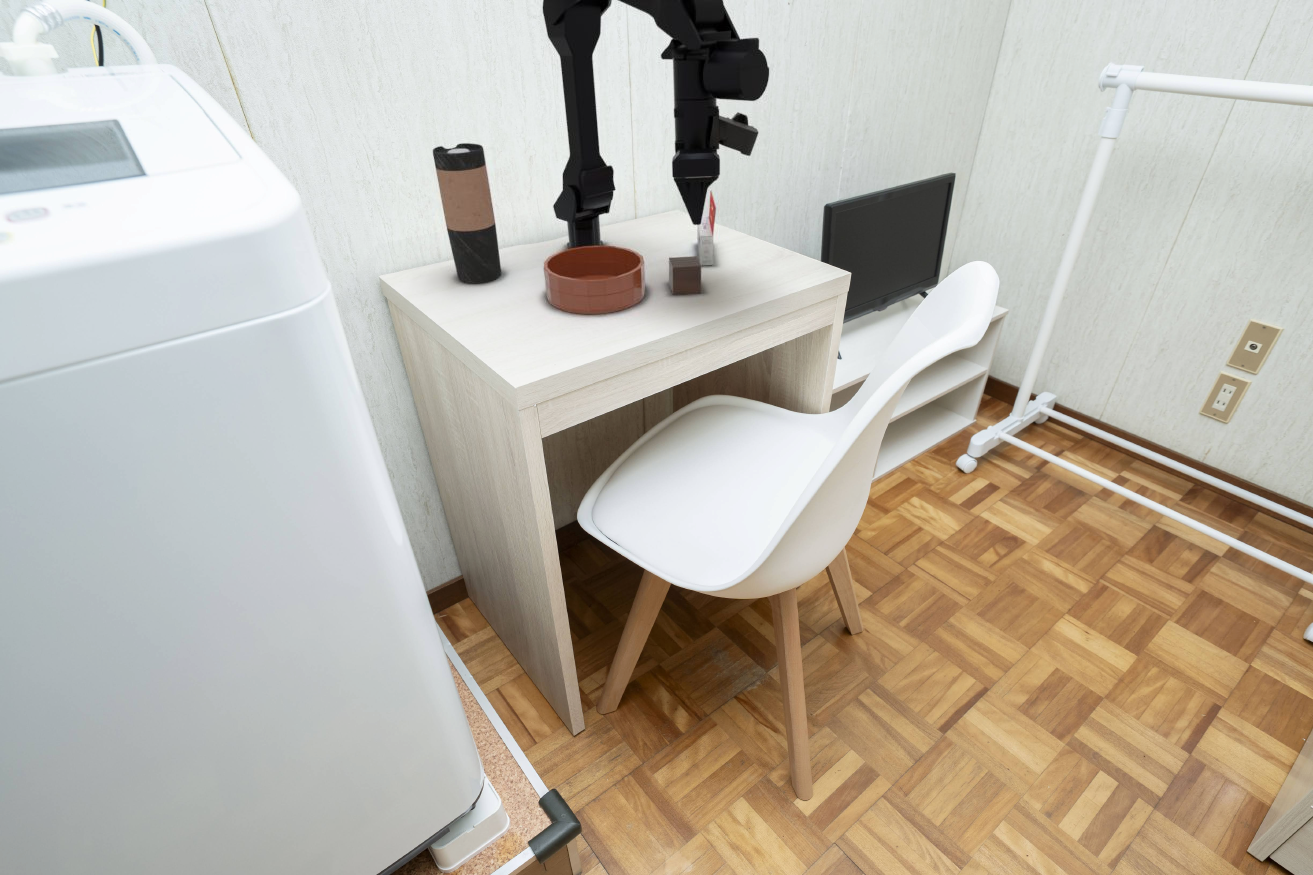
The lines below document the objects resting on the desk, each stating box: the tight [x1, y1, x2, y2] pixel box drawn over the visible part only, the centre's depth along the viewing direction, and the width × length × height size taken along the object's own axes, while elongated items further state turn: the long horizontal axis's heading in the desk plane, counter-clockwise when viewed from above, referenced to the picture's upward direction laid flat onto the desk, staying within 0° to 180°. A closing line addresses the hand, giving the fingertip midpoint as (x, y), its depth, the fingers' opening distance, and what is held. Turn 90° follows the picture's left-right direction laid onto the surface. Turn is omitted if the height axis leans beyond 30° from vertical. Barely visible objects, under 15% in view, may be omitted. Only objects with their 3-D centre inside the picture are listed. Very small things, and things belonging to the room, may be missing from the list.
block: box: [668, 255, 702, 296], centre depth 104 cm, size 4×4×4 cm
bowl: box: [543, 245, 646, 315], centre depth 103 cm, size 15×15×5 cm
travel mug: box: [432, 142, 502, 285], centre depth 106 cm, size 8×8×20 cm
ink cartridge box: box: [696, 190, 717, 266], centre depth 115 cm, size 2×11×10 cm, turn 0°
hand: (696, 216), depth 98 cm, fingers open, 9 cm apart
